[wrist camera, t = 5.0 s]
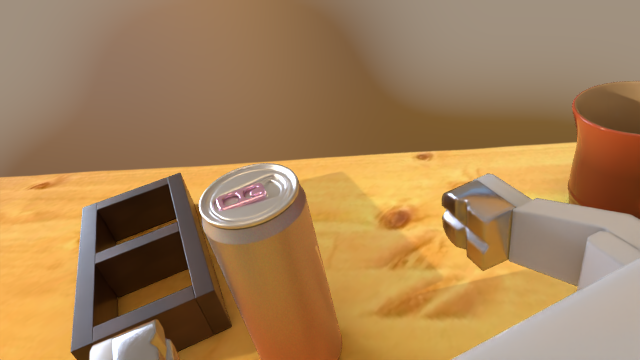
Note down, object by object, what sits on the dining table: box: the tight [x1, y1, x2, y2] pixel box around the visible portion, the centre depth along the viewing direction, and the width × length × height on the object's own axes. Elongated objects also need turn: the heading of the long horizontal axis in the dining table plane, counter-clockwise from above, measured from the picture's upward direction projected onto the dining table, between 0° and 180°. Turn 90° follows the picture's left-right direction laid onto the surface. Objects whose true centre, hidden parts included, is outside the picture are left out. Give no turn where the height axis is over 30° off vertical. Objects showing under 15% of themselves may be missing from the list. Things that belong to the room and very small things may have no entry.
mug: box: [568, 81, 640, 219], centre depth 34 cm, size 12×9×10 cm
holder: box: [71, 173, 232, 360], centre depth 41 cm, size 10×20×4 cm, turn 23°
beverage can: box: [199, 163, 342, 360], centre depth 28 cm, size 6×6×15 cm
